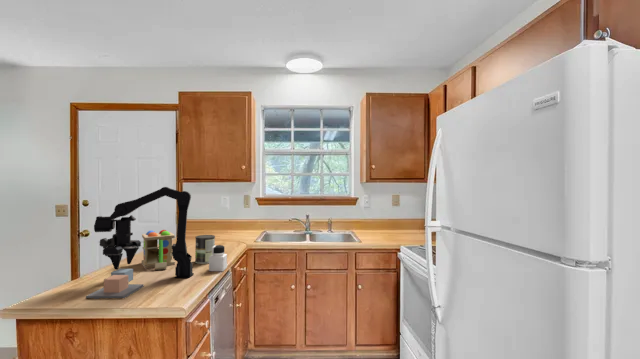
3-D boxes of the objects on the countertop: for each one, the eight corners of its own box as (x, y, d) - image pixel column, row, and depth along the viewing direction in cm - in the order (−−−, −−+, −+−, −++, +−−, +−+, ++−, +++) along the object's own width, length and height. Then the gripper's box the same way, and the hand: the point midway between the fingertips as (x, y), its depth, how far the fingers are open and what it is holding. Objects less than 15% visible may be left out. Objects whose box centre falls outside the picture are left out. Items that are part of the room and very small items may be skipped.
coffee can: (194, 264, 170) (195, 238, 170) (195, 260, 180) (195, 235, 180) (215, 263, 174) (215, 237, 174) (214, 258, 184) (214, 234, 184)
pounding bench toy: (178, 268, 163) (178, 233, 163) (146, 272, 155) (147, 235, 155) (169, 259, 182) (170, 228, 182) (141, 263, 173) (141, 230, 174)
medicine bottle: (227, 267, 165) (227, 244, 165) (223, 271, 158) (223, 247, 158) (213, 267, 165) (213, 244, 165) (208, 271, 157) (208, 247, 158)
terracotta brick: (128, 287, 130) (128, 275, 130) (119, 292, 124) (119, 279, 124) (113, 287, 130) (113, 275, 130) (103, 292, 124) (103, 279, 124)
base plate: (143, 286, 134) (143, 284, 134) (123, 298, 120) (123, 296, 120) (109, 286, 134) (109, 284, 134) (85, 298, 120) (85, 296, 120)
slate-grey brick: (133, 279, 143) (133, 268, 144) (124, 284, 137) (124, 272, 138) (119, 279, 144) (120, 268, 144) (110, 284, 138) (111, 272, 138)
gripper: (117, 228, 150) (117, 261, 150) (89, 234, 131) (89, 272, 131) (141, 228, 150) (141, 261, 150) (117, 234, 132) (116, 272, 131)
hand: (122, 266), depth 141 cm, fingers open, 9 cm apart
